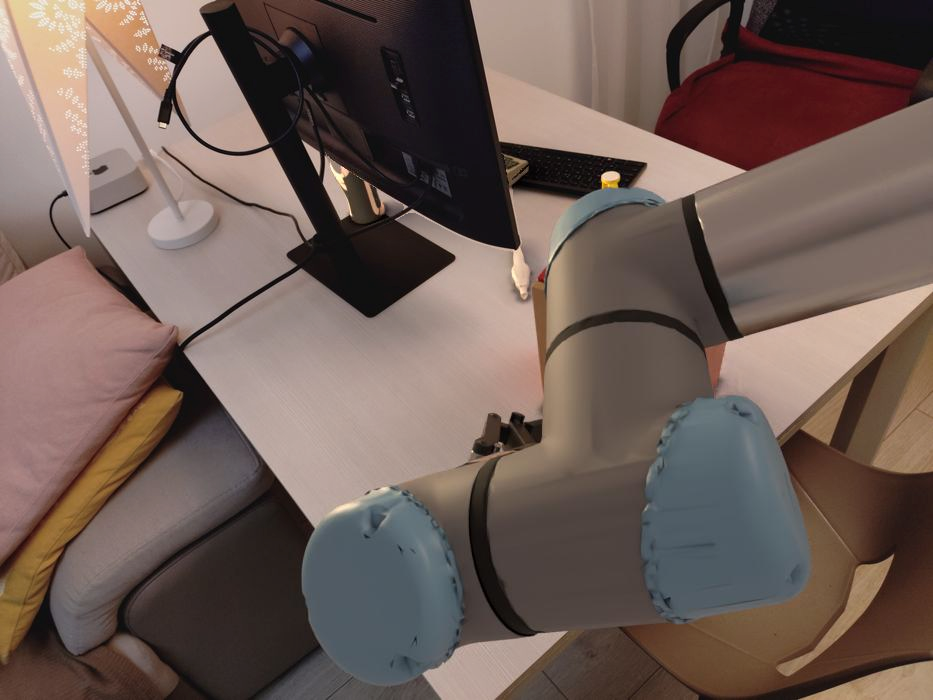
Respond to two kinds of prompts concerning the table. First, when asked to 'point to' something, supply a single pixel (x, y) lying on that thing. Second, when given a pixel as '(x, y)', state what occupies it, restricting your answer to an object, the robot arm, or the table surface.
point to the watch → (610, 179)
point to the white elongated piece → (520, 273)
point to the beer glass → (358, 195)
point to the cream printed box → (514, 168)
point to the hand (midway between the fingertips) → (620, 459)
